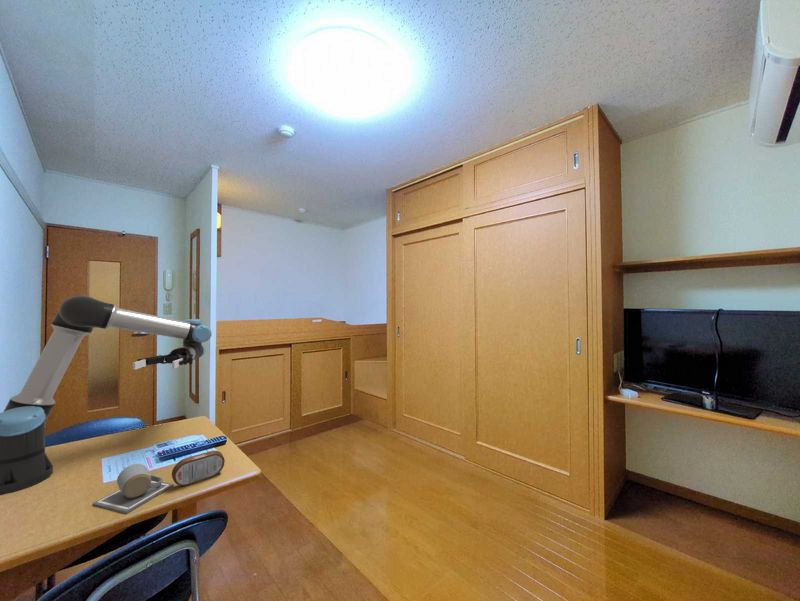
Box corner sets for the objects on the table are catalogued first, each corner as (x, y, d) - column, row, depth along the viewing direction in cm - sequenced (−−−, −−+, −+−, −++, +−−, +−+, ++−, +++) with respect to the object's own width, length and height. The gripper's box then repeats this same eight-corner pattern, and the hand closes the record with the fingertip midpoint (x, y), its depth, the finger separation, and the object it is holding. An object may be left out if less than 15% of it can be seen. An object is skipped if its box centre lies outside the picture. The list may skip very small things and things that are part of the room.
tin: (223, 470, 114) (223, 446, 114) (225, 473, 112) (225, 449, 112) (171, 487, 104) (171, 461, 104) (173, 491, 102) (172, 464, 102)
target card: (92, 505, 95) (92, 502, 95) (141, 479, 108) (141, 477, 108) (126, 514, 91) (126, 511, 91) (173, 486, 105) (173, 483, 105)
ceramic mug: (122, 504, 94) (122, 478, 94) (116, 493, 100) (116, 468, 100) (165, 488, 102) (165, 464, 102) (158, 478, 108) (158, 455, 108)
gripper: (212, 363, 147) (189, 374, 126) (151, 365, 143) (117, 376, 122) (212, 346, 147) (189, 354, 126) (151, 348, 143) (117, 356, 122)
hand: (153, 365), depth 124 cm, fingers open, 13 cm apart
